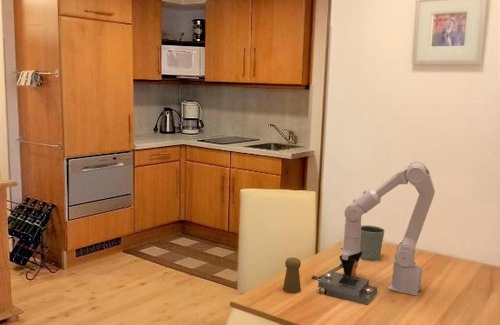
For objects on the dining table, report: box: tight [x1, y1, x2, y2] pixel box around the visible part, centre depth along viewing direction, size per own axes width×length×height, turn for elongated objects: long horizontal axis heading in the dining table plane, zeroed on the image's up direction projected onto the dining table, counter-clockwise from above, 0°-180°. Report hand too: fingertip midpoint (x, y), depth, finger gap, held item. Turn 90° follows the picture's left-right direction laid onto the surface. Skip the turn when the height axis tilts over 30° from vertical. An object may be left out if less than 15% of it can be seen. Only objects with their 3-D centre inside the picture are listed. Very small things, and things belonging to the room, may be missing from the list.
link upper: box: [317, 270, 370, 297], centre depth 171 cm, size 14×11×5 cm
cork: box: [282, 257, 302, 294], centre depth 171 cm, size 6×6×11 cm
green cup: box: [360, 225, 385, 262], centre depth 205 cm, size 10×10×12 cm
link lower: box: [325, 283, 378, 305], centre depth 169 cm, size 14×11×3 cm
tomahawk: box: [311, 262, 343, 282], centre depth 187 cm, size 21×7×1 cm, turn 137°
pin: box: [351, 261, 359, 277], centre depth 181 cm, size 5×5×7 cm
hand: (350, 273), depth 181 cm, fingers closed on pin, 5 cm apart
